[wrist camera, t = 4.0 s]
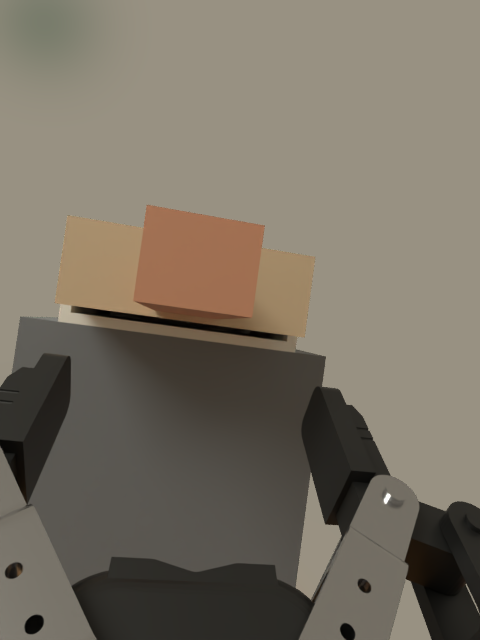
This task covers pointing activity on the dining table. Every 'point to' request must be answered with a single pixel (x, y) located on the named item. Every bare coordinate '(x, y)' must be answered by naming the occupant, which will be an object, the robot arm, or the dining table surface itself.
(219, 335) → the box
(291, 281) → the tray
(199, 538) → the pedestal
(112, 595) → the robot arm
